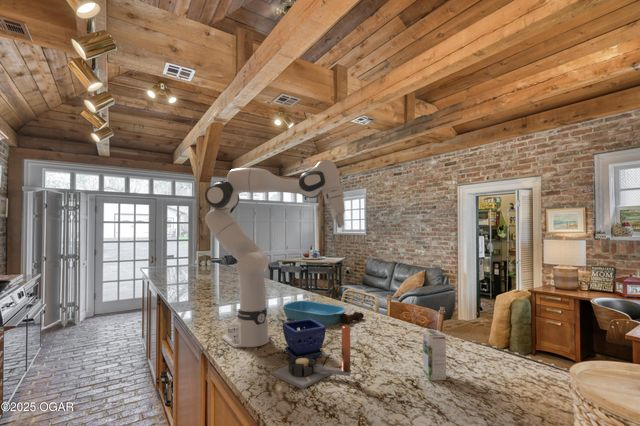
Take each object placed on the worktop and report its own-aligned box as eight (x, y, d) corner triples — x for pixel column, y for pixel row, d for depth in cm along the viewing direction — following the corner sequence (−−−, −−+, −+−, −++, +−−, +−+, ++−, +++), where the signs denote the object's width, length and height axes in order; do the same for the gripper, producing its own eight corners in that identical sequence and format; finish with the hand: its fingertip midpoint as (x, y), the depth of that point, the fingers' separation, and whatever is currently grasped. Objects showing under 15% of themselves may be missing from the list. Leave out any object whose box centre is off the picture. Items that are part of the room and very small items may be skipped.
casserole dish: (353, 319, 172) (353, 306, 173) (332, 330, 154) (332, 315, 154) (298, 310, 192) (298, 298, 193) (274, 319, 173) (274, 306, 174)
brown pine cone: (363, 322, 173) (345, 327, 163) (356, 316, 177) (338, 320, 166) (367, 314, 172) (349, 318, 161) (361, 307, 175) (343, 311, 165)
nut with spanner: (285, 374, 103) (285, 325, 104) (294, 363, 112) (294, 318, 113) (347, 383, 98) (347, 330, 98) (352, 371, 106) (352, 323, 107)
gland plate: (272, 375, 106) (272, 361, 106) (301, 362, 116) (301, 349, 116) (302, 389, 96) (302, 373, 97) (331, 373, 107) (331, 359, 107)
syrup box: (422, 373, 108) (421, 329, 108) (439, 372, 108) (438, 329, 109) (429, 381, 102) (428, 335, 103) (447, 380, 102) (446, 334, 103)
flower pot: (294, 365, 114) (294, 331, 114) (281, 352, 125) (281, 322, 126) (326, 358, 120) (326, 326, 120) (311, 347, 131) (311, 317, 132)
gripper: (325, 201, 149) (332, 230, 147) (328, 193, 129) (335, 226, 127) (338, 198, 150) (345, 227, 148) (343, 189, 129) (351, 222, 127)
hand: (341, 226), depth 137 cm, fingers open, 8 cm apart
